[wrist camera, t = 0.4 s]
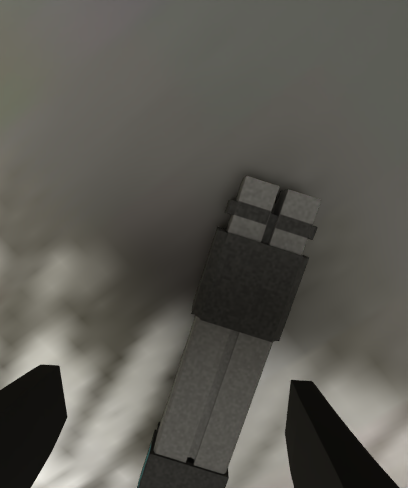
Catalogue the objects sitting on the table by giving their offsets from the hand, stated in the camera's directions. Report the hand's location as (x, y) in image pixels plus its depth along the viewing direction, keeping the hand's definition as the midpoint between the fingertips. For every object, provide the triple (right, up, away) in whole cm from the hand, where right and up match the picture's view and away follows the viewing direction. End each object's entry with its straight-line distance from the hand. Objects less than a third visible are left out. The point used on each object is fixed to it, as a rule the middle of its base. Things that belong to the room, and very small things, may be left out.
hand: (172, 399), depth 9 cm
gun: (+2, -1, +11) cm, 11 cm away
